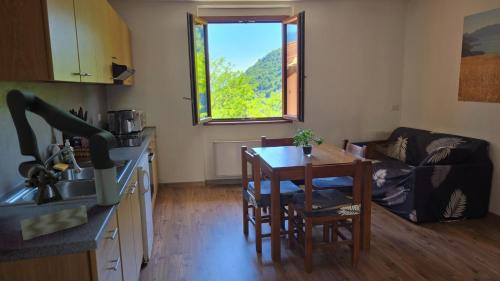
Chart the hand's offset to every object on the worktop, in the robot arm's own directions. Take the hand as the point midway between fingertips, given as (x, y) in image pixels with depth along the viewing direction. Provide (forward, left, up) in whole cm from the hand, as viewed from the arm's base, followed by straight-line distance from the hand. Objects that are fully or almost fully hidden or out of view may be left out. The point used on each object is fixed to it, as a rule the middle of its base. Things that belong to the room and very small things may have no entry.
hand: (48, 185), depth 133 cm
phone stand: (0, -3, -7) cm, 8 cm away
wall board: (0, -3, -17) cm, 17 cm away
